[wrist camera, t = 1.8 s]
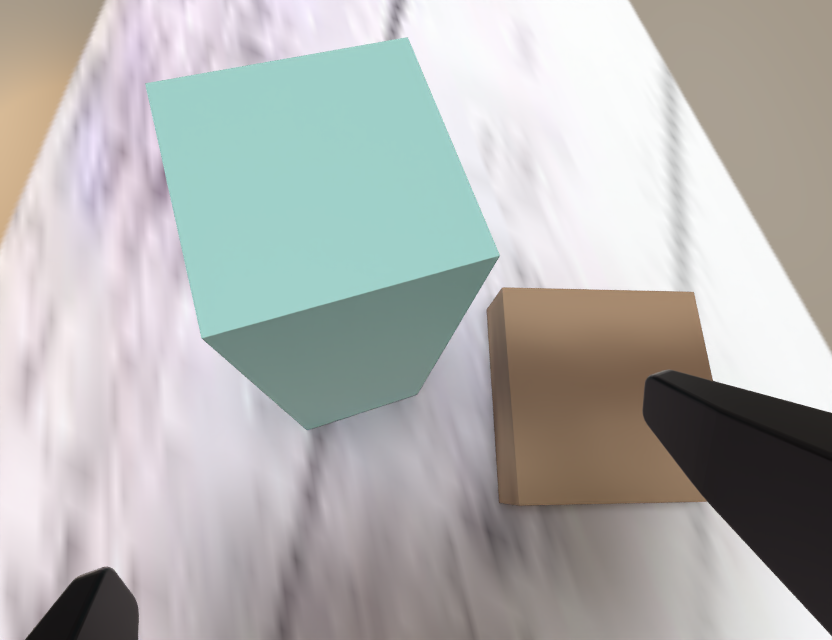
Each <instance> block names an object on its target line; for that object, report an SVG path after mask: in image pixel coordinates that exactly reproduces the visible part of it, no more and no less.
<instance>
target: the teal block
mask: <svg viewBox="0 0 832 640" xmlns="http://www.w3.org/2000/svg"><path fill="white" fill-rule="evenodd" d="M145 84H146V89H147V93H148V98H149V102H150V107H151V112H152V116H153V121H154V125H155V130H156V134H157V139H158V143H159V148H160V152H161V157H162V161H163V166H164V170H165V175H166V179H167V184H168V188H169V193H170V197H171V202H172V207H173V211H174V216H175V220H176V225H177V229H178V234H179V238H180V243H181V247H182V252H183V256H184V261H185V265H186V270H187V274H188V279H189V283H190V288H191V293H192V297H193V302H194V306H195V311H196V315H197V320H198V324H199V329H200V333H201V338H202V339H203V340H204V341H205V342H206V343H208V344H209V345H210V346H211V347H212V348H213V349H214V350H216V351H217V352H218V353H219V354H220V355H221V356H222V357H224V358H225V359H226V360H227V361H228V362H229V363H230V364H232V365H233V366H234V367H235V368H236V369H237V370H239V371H240V372H241V373H242V374H243V375H244V376H245V377H247V378H248V379H249V380H250V381H251V382H252V383H253V384H255V385H256V386H257V387H258V388H259V389H260V390H261V391H263V392H264V393H265V394H266V395H267V396H268V397H269V398H271V399H272V400H273V401H274V402H275V403H276V404H278V405H279V406H280V407H281V408H282V409H283V410H284V411H286V412H287V413H288V414H289V415H290V416H291V417H292V418H294V419H295V420H296V421H297V422H298V423H299V424H300V425H302V426H303V427H304V428H305V429H306V430H310V429H313V428H316V427H319V426H322V425H325V424H328V423H331V422H334V421H337V420H341V419H344V418H347V417H350V416H353V415H356V414H359V413H362V412H365V411H368V410H371V409H374V408H377V407H380V406H384V405H387V404H390V403H393V402H396V401H399V400H402V399H405V398H408V397H411V396H414V395H417V394H418V392H419V391H420V389H421V387H422V386H423V384H424V382H425V381H426V379H427V377H428V376H429V374H430V372H431V370H432V369H433V367H434V365H435V364H436V362H437V360H438V359H439V357H440V355H441V354H442V352H443V350H444V349H445V347H446V345H447V344H448V342H449V340H450V339H451V337H452V335H453V334H454V332H455V330H456V328H457V327H458V325H459V323H460V322H461V320H462V318H463V317H464V315H465V313H466V312H467V310H468V308H469V307H470V305H471V303H472V302H473V300H474V298H475V297H476V295H477V293H478V292H479V290H480V288H481V286H482V285H483V283H484V281H485V280H486V278H487V276H488V275H489V273H490V271H491V270H492V268H493V266H494V265H495V263H496V261H497V260H498V258H499V256H500V255H499V252H498V250H497V248H496V245H495V243H494V241H493V238H492V236H491V233H490V231H489V229H488V226H487V224H486V222H485V219H484V217H483V214H482V212H481V210H480V207H479V205H478V203H477V200H476V198H475V196H474V193H473V191H472V188H471V186H470V184H469V181H468V179H467V177H466V174H465V172H464V170H463V167H462V165H461V162H460V160H459V158H458V155H457V153H456V151H455V148H454V146H453V143H452V141H451V139H450V136H449V134H448V132H447V129H446V127H445V125H444V122H443V120H442V117H441V115H440V113H439V110H438V108H437V106H436V103H435V101H434V99H433V96H432V94H431V91H430V89H429V87H428V84H427V82H426V80H425V77H424V75H423V72H422V70H421V68H420V65H419V63H418V61H417V58H416V56H415V54H414V51H413V49H412V46H411V44H410V42H409V39H408V37H407V38H401V39H395V40H390V41H384V42H378V43H373V44H367V45H361V46H356V47H350V48H344V49H339V50H333V51H327V52H321V53H316V54H310V55H304V56H299V57H293V58H287V59H282V60H276V61H270V62H265V63H259V64H253V65H248V66H242V67H236V68H231V69H225V70H219V71H213V72H208V73H202V74H196V75H191V76H185V77H179V78H174V79H168V80H162V81H157V82H151V83H145Z"/></svg>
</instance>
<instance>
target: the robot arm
mask: <svg viewBox="0 0 832 640" xmlns="http://www.w3.org/2000/svg"><path fill="white" fill-rule="evenodd" d="M642 412H643V417H644V420H645V422H646V423H647V425H648V426H649V428H650V429H651V430H652V432H653V433H654V434H655V436H656V437H657V438H658V440H659V441H660V442H661V443H662V445H663V446H664V447H665V449H666V450H667V451H668V453H669V454H670V455H671V456H672V458H673V459H674V460H675V462H676V463H677V464H678V466H679V467H680V468H681V470H682V471H683V472H684V473H685V475H686V476H687V477H688V479H689V480H690V481H691V483H692V484H693V485H694V486H695V487H696V489H697V490H698V491H699V492H700V494H701V495H702V496H703V497H704V498H705V499H706V500H707V502H708V503H709V504H710V505H711V506H712V507H713V508H714V509H715V510H716V512H717V513H718V514H719V515H720V516H721V517H722V518H723V519H724V520H725V521H726V522H727V523H728V525H729V526H730V527H731V528H732V529H733V530H734V531H735V532H736V533H737V534H738V535H739V536H740V537H741V539H742V540H743V541H744V542H745V543H746V544H747V545H748V546H749V547H750V548H751V549H752V550H753V551H754V553H755V554H756V555H757V556H758V557H759V558H760V559H761V560H762V561H763V562H764V563H765V564H766V566H767V567H768V568H769V569H770V570H771V571H772V572H773V573H774V574H775V575H776V576H777V577H778V578H779V580H780V581H781V582H782V583H783V584H784V585H785V586H786V587H787V588H788V589H789V590H790V591H791V592H792V594H793V595H794V596H795V597H796V598H797V599H798V600H799V601H800V602H801V603H802V604H803V605H804V607H805V608H806V609H807V610H808V611H809V612H810V613H811V614H812V615H813V616H814V617H815V618H816V619H817V621H818V622H819V623H820V624H821V625H822V626H823V627H824V628H825V629H826V630H827V631H828V632H829V634H830V635H831V636H832V413H830V412H826V411H823V410H819V409H815V408H812V407H808V406H804V405H800V404H797V403H793V402H789V401H786V400H782V399H778V398H774V397H771V396H767V395H763V394H760V393H756V392H752V391H749V390H745V389H741V388H737V387H734V386H730V385H726V384H723V383H719V382H715V381H711V380H708V379H704V378H700V377H697V376H693V375H689V374H686V373H682V372H678V371H674V370H663V371H661V372H658V373H655V374H652V375H650V376H648V377H647V379H646V380H645V386H644V397H643V408H642ZM138 623H139V611H138V605H137V602H136V599H135V597H134V596H133V594H132V593H131V592H130V590H129V589H128V588H127V586H126V585H125V584H124V582H123V581H122V580H121V578H120V577H119V576H118V574H117V573H116V572H115V571H114V570H113V569H112V568H110V567H102V568H99V569H97V570H94V571H91V572H88V573H85V574H82V575H80V576H78V577H77V578H75V579H74V580H73V581H72V582H71V583H70V585H69V586H68V587H67V588H66V590H65V591H64V592H63V593H62V595H61V596H60V597H59V598H58V599H57V601H56V602H55V603H54V604H53V606H52V607H51V608H50V609H49V611H48V612H47V613H46V614H45V615H44V617H43V618H42V619H41V620H40V622H39V623H38V624H37V625H36V627H35V628H34V629H33V630H32V632H31V633H30V634H29V635H28V636H27V638H26V639H25V640H138Z"/></svg>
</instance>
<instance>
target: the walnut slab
mask: <svg viewBox="0 0 832 640" xmlns="http://www.w3.org/2000/svg"><path fill="white" fill-rule="evenodd" d="M487 322H488V338H489V353H490V369H491V384H492V400H493V415H494V431H495V446H496V462H497V477H498V493H499V503H504V504H512V505H519V506H522V505H570V504H617V503H664V502H707V500H706V499H705V498H704V497H703V496H702V495H701V494H700V492H699V491H698V490H697V489H696V487H695V486H694V485H693V484H692V483H691V481H690V480H689V479H688V477H687V476H686V475H685V473H684V472H683V471H682V470H681V468H680V467H679V466H678V464H677V463H676V462H675V460H674V459H673V458H672V456H671V455H670V454H669V453H668V451H667V450H666V449H665V447H664V446H663V445H662V443H661V442H660V441H659V440H658V438H657V437H656V436H655V434H654V433H653V432H652V430H651V429H650V428H649V426H648V425H647V423H646V422H645V420H644V417H643V412H642V408H643V397H644V386H645V380H646V379H647V377H648V376H650V375H652V374H655V373H658V372H661V371H663V370H674V371H678V372H682V373H686V374H689V375H693V376H697V377H700V378H704V379H708V380H711V381H713V379H712V375H711V370H710V365H709V361H708V356H707V351H706V347H705V342H704V337H703V333H702V328H701V323H700V319H699V314H698V309H697V305H696V300H695V295H694V292H673V291H630V290H588V289H545V288H502V289H501V290H500V291H499V293H498V294H497V296H496V297H495V299H494V300H493V302H492V303H491V304H490V306H489V307H488V309H487Z"/></svg>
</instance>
